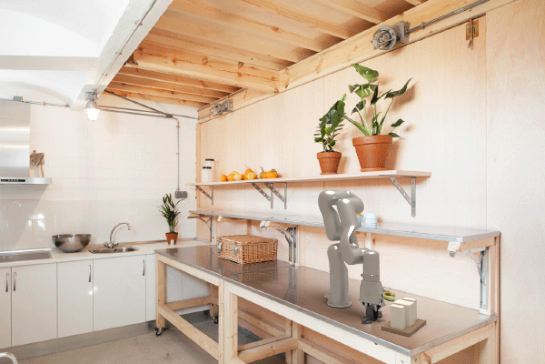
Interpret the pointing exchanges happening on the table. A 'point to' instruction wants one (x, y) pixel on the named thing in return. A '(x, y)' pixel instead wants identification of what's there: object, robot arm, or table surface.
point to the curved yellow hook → (388, 295)
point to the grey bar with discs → (370, 315)
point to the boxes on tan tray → (404, 318)
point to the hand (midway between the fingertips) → (372, 317)
